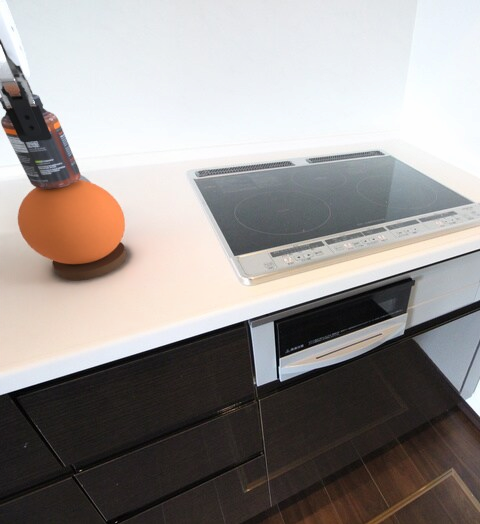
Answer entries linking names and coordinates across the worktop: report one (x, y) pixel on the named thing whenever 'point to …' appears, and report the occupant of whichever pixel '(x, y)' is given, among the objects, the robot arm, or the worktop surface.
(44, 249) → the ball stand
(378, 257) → the worktop surface
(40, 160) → the supplement bottle
